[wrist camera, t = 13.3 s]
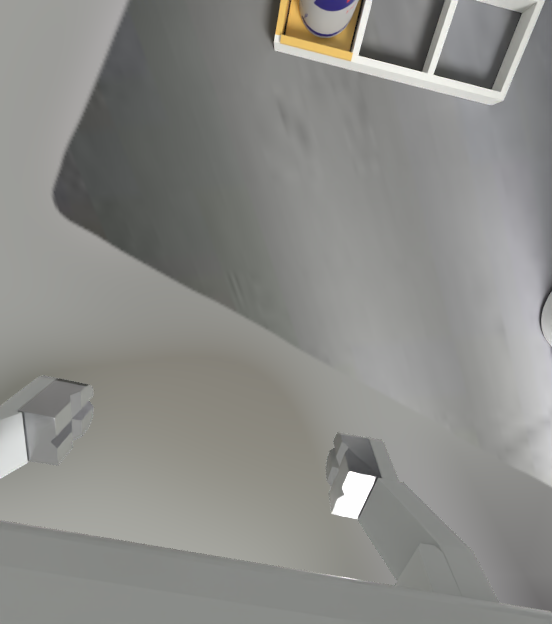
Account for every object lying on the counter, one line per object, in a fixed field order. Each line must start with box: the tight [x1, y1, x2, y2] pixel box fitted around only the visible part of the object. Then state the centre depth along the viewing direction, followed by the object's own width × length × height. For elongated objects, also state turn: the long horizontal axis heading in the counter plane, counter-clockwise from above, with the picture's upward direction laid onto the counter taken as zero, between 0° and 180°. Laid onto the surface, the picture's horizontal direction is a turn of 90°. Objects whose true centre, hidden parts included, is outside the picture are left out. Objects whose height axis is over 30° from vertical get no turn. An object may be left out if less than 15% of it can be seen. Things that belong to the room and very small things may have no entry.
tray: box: [274, 0, 545, 105], centre depth 30 cm, size 23×8×2 cm, turn 78°
